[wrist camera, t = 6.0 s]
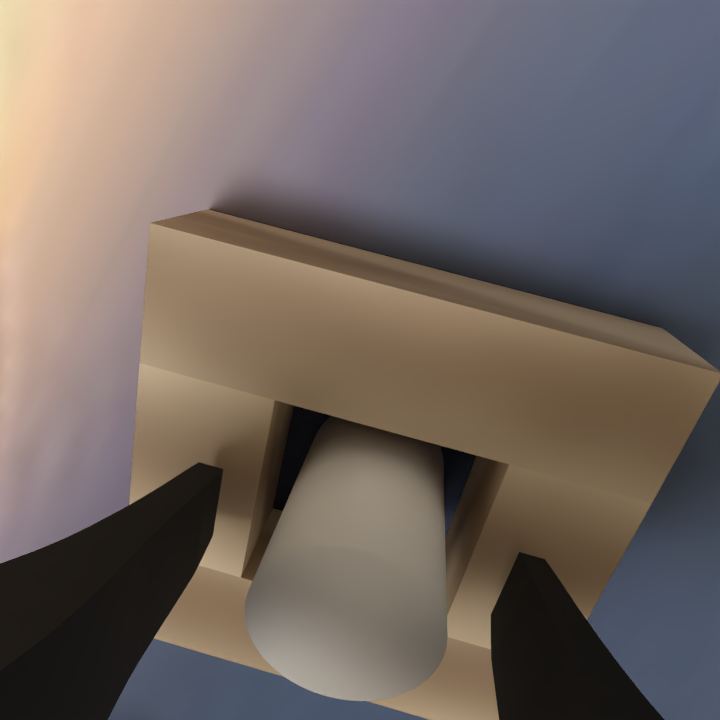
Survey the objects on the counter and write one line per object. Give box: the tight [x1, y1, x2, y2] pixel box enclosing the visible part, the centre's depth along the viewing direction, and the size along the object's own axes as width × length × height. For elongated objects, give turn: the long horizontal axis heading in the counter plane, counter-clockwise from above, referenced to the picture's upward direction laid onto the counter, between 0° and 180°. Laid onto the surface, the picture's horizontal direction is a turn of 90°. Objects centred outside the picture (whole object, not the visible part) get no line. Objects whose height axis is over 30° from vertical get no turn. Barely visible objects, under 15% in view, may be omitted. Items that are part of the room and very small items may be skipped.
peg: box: [244, 416, 448, 701], centre depth 13 cm, size 4×4×6 cm
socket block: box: [129, 209, 720, 720], centre depth 14 cm, size 12×12×3 cm
